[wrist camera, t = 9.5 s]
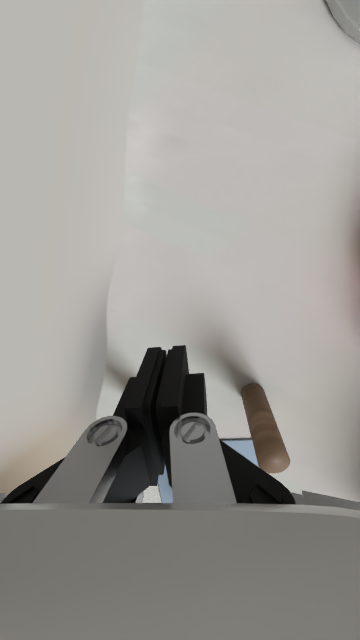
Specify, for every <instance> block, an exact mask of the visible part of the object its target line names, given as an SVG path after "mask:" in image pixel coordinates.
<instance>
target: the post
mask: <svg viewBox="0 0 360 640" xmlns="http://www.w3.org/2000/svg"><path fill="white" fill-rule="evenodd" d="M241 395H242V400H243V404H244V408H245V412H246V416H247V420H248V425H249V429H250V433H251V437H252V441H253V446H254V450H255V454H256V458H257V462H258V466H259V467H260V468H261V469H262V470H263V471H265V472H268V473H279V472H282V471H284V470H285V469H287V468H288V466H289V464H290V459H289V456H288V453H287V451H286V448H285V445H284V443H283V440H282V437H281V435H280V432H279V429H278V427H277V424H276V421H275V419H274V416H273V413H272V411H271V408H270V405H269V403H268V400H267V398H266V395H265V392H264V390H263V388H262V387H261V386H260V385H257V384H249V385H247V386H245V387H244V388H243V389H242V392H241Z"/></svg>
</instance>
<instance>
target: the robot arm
mask: <svg viewBox="0 0 360 640" xmlns="http://www.w3.org/2000/svg"><path fill="white" fill-rule="evenodd" d="M326 2H327V4H328V6H329V8H330V10H331V13H332V15H333V17H334V19H335V20H336V21H337V22H338V24H339V25H340V26H341V28H342V29H343V30H344V31H345V33H347V34H348V35H349V36H350V37H352V38H353V39H354V40H356V41H357V42H358V43H360V0H326ZM165 466H166V471H167V476H168V482H169V485H170V486H171V488H172V495H173V503H142V502H143V497H144V495H143V491H144V490H145V489H146V488H148V487H149V486H157V484H158V477H159V475H163V474H164V470H165ZM0 640H360V503H359V502H355V501H350V500H345V499H340V498H336V497H331V496H326V495H321V494H317V493H312V492H307V491H302V495H300V494H296V493H291V492H290V491H289V490H288V489H287V488H286V487H285V486H284V485H283V484H281V483H280V482H279V481H277V480H276V479H275V478H273V477H272V476H270V475H269V474H268V473H266V472H265V471H263V470H262V469H261V468H259V467H258V466H256V465H255V464H254V463H252V462H251V461H250V460H248V459H247V458H245V457H244V456H243V455H241V454H240V453H238V452H237V451H236V450H234V449H233V448H231V447H230V446H229V445H227V444H226V443H224V442H223V441H222V440H220V439H219V437H218V434H217V430H216V427H215V424H214V422H213V420H212V419H210V418H209V417H208V416H207V401H206V388H205V378H204V373H197V374H189V369H188V361H187V352H186V346H185V345H183V346H173V348H172V349H171V350H168V354H167V355H166V350H162V349H161V347H155V348H148V349H147V352H146V354H145V357H144V359H143V362H142V364H141V367H140V369H139V372H138V374H137V377H131V378H130V379H129V381H128V383H127V385H126V387H125V390H124V392H123V394H122V396H121V399H120V401H119V403H118V405H117V408H116V410H115V412H114V414H113V416H108V417H104V418H101V419H99V420H97V421H95V422H94V423H92V424H91V425H90V426H89V427H88V428H87V429H86V430H85V431H84V433H83V434H82V435H81V437H80V438H79V440H78V441H77V442H76V444H75V445H74V446H73V448H72V449H71V451H70V452H69V453H68V455H67V456H66V457H65V458H63V459H62V460H60V461H58V462H57V463H55V464H54V465H52V466H50V467H49V468H47V469H46V470H44V471H42V472H41V473H39V474H37V475H36V476H34V477H33V478H31V479H30V480H28V481H26V482H25V483H23V484H21V485H20V486H18V487H17V488H16V489H14V490H13V491H12V492H11V493H10V494H9V495H8V496H7V495H6V493H1V494H0Z"/></svg>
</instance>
